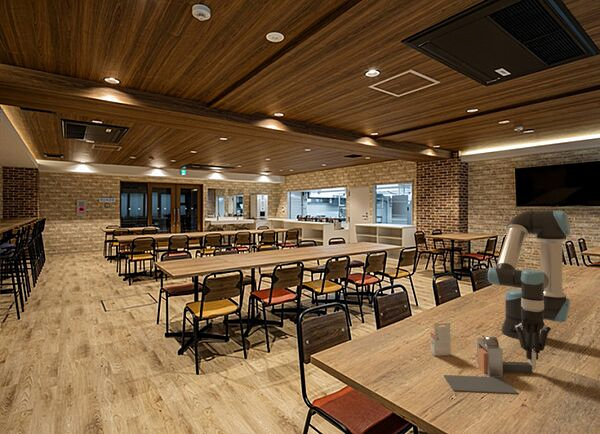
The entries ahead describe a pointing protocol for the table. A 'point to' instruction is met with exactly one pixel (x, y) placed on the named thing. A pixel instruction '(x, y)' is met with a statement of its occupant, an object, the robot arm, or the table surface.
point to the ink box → (441, 340)
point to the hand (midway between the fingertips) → (532, 367)
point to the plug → (507, 366)
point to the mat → (480, 384)
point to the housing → (492, 355)
